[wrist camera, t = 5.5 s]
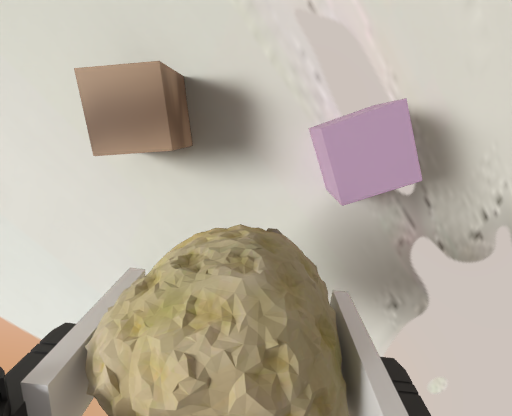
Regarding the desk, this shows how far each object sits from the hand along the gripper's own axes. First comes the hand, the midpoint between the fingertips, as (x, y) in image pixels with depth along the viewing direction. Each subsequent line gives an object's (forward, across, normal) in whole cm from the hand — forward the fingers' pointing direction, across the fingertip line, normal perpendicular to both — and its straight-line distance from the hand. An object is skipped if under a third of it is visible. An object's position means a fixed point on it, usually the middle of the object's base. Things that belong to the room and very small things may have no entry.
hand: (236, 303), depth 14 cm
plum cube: (+10, +7, +8) cm, 15 cm away
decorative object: (+1, 0, 0) cm, 1 cm away
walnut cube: (+10, -8, +9) cm, 16 cm away
